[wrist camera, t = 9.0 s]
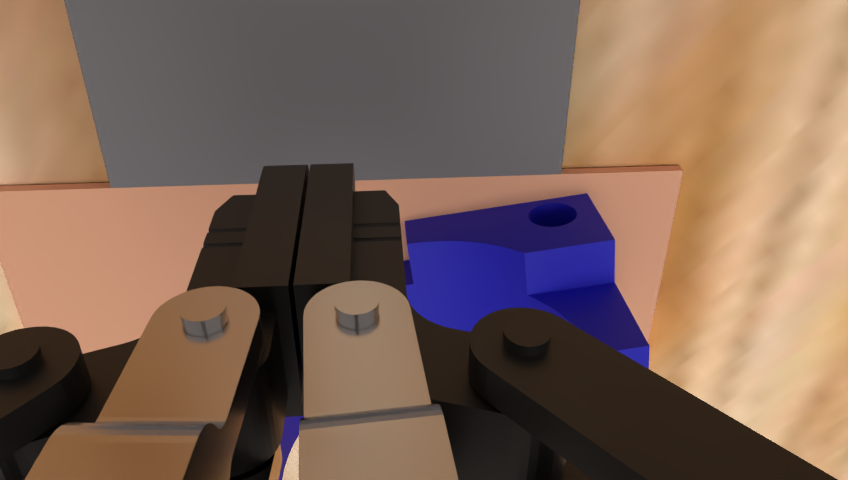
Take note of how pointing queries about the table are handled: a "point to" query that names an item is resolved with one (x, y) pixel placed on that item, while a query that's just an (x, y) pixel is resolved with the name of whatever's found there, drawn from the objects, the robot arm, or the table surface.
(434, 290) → the blue cradle block
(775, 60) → the table surface
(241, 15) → the t mat
